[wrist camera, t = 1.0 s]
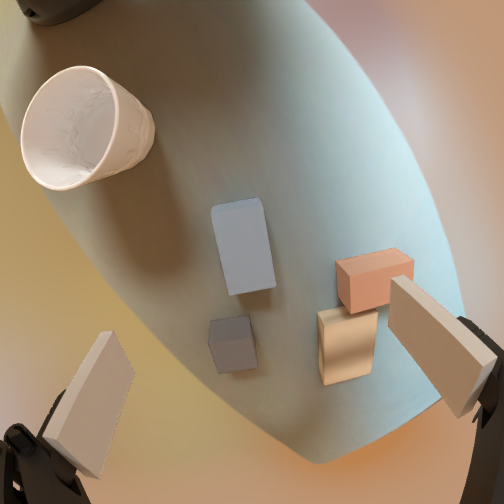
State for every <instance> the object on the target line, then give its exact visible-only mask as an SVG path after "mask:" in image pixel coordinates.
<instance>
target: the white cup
mask: <svg viewBox="0 0 504 504" xmlns="http://www.w3.org/2000/svg"><path fill="white" fill-rule="evenodd" d="M155 128H156V127H155V124H154V121H153V117H152V114H151V112H150V111H149V110H148V109H147V108H146V107H145V106H144V105H143V104H141V103H140V101H139V100H138V99H137V98H136V97H134V96H133V95H132V94H131V93H129V92H128V91H127V90H126V89H125V88H123V87H122V86H121V85H119V84H118V83H116V82H115V81H114V80H112V79H111V78H109V77H108V76H106V75H105V74H104V73H102V72H101V71H99V70H97V69H95V68H93V67H89V66H75V67H70V68H67V69H64V70H62V71H60V72H58V73H57V74H55V75H54V76H52V77H51V78H50V79H48V80H47V81H46V82H45V83H44V84H43V85H42V86H41V87H40V89H39V90H38V91H37V93H36V94H35V95H34V97H33V99H32V100H31V102H30V104H29V106H28V108H27V111H26V113H25V116H24V120H23V124H22V129H21V152H22V157H23V160H24V163H25V166H26V168H27V170H28V172H29V173H30V175H31V176H32V177H33V179H34V180H35V181H36V182H37V183H39V184H40V185H41V186H43V187H45V188H47V189H50V190H55V191H65V190H70V189H73V188H76V187H79V186H81V185H84V184H87V183H90V182H93V181H97V180H100V179H103V178H106V177H109V176H111V175H114V174H117V173H119V172H121V171H123V170H126V169H130V168H132V167H134V166H135V165H136V164H138V163H139V162H140V161H142V160H143V159H145V157H146V155H147V154H148V152H149V150H150V149H151V147H152V145H153V143H154V135H155Z"/></svg>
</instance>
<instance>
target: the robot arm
mask: <svg viewBox="0 0 504 504" xmlns="http://www.w3.org/2000/svg"><path fill="white" fill-rule="evenodd" d="M16 1H17V3H18V5H19V7H20V8H21V10H22V12H23V14H24V15H25V16H26V17H27V18H28V19H29V20H31V21H33V22H35V23H37V24H39V25H43V26H50V25H55V24H59V23H62V22H65V21H67V20H70V19H72V18H74V17H76V16H78V15H80V14H81V13H83V12H85V11H86V10H88V9H90V8H91V7H93V6H94V5H95V4H97V3H98V2H100V1H101V0H16ZM388 327H389V328H390V330H391V331H392V332H393V333H394V335H395V336H396V337H397V338H398V340H399V341H400V342H401V343H402V345H403V346H404V347H405V348H406V350H407V351H408V352H409V354H410V355H411V356H412V357H413V359H414V360H415V361H416V363H417V364H418V365H419V367H420V368H421V369H422V371H423V372H424V373H425V375H426V376H427V377H428V379H429V380H430V381H431V383H432V384H433V385H434V387H435V388H436V389H437V391H438V392H439V394H440V395H441V396H442V398H443V399H444V400H445V402H446V403H447V405H448V406H449V407H450V409H451V410H452V412H453V413H454V415H455V416H456V417H457V419H458V418H460V417H462V416H463V415H465V414H466V413H468V412H469V411H471V410H472V409H473V407H474V405H475V404H476V402H477V400H478V401H479V402H480V404H481V406H480V408H479V410H478V411H477V413H476V415H475V416H474V418H473V421H472V423H474V422H475V421H476V419H477V418H478V423H477V430H476V437H475V444H474V449H473V454H472V459H471V464H470V468H469V472H468V476H467V480H466V484H465V487H464V491H463V494H462V498H461V501H460V504H504V350H503V349H501V348H500V347H499V346H498V345H497V344H496V343H495V342H494V341H493V340H492V339H491V338H490V337H489V336H487V335H485V333H484V332H483V331H482V330H481V329H479V328H478V327H477V326H476V325H475V324H474V323H473V322H472V321H470V320H468V319H466V318H464V317H462V316H460V317H458V318H456V317H454V316H453V315H452V314H451V313H450V312H449V311H448V310H446V309H445V308H444V307H443V306H442V305H441V304H440V303H438V302H437V301H436V300H435V299H434V298H432V297H431V296H430V295H429V294H428V293H426V292H425V291H424V290H423V289H422V288H420V287H419V286H418V285H417V284H415V283H414V282H413V281H412V280H410V279H409V278H408V277H407V276H405V275H400V276H396V277H393V278H391V286H390V304H389V318H388ZM134 375H135V371H134V369H133V367H132V366H131V364H130V362H129V361H128V358H127V356H126V354H125V352H124V350H123V348H122V347H121V345H120V343H119V340H118V338H117V336H116V334H115V332H114V331H104V332H101V333H100V334H99V336H98V338H97V339H96V341H95V342H94V344H93V345H92V347H91V349H90V350H89V352H88V354H87V355H86V357H85V359H84V361H83V362H82V363H81V365H80V367H79V369H78V370H77V372H76V374H75V375H74V377H73V379H72V381H71V383H70V384H69V386H68V388H67V389H65V390H64V391H63V392H62V393H61V394H60V395H59V396H58V397H57V399H56V400H55V402H54V404H53V407H52V408H51V409H50V412H49V414H48V415H47V417H46V419H45V421H44V423H43V425H42V427H41V429H40V431H39V433H38V435H37V437H35V436H34V435H33V434H32V433H31V432H30V431H29V430H28V429H27V428H26V427H25V426H24V425H23V424H19V423H17V424H13V425H12V426H11V427H9V429H8V430H7V431H6V433H5V435H4V442H3V441H2V440H0V504H91V503H90V501H89V498H88V496H87V494H86V492H85V490H84V488H83V486H82V484H81V481H80V479H79V478H78V476H77V475H75V473H76V470H79V471H80V472H81V473H82V474H83V475H85V476H87V477H91V478H95V479H101V476H102V472H103V468H104V465H105V462H106V458H107V455H108V452H109V448H110V445H111V442H112V439H113V436H114V433H115V429H116V427H117V424H118V420H119V418H120V415H121V412H122V409H123V406H124V403H125V400H126V397H127V395H128V392H129V389H130V386H131V384H132V381H133V378H134ZM13 481H14V482H15V483H16V484H18V485H19V486H20V490H19V491H18V490H17V489H16V488H14V487H13Z"/></svg>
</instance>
